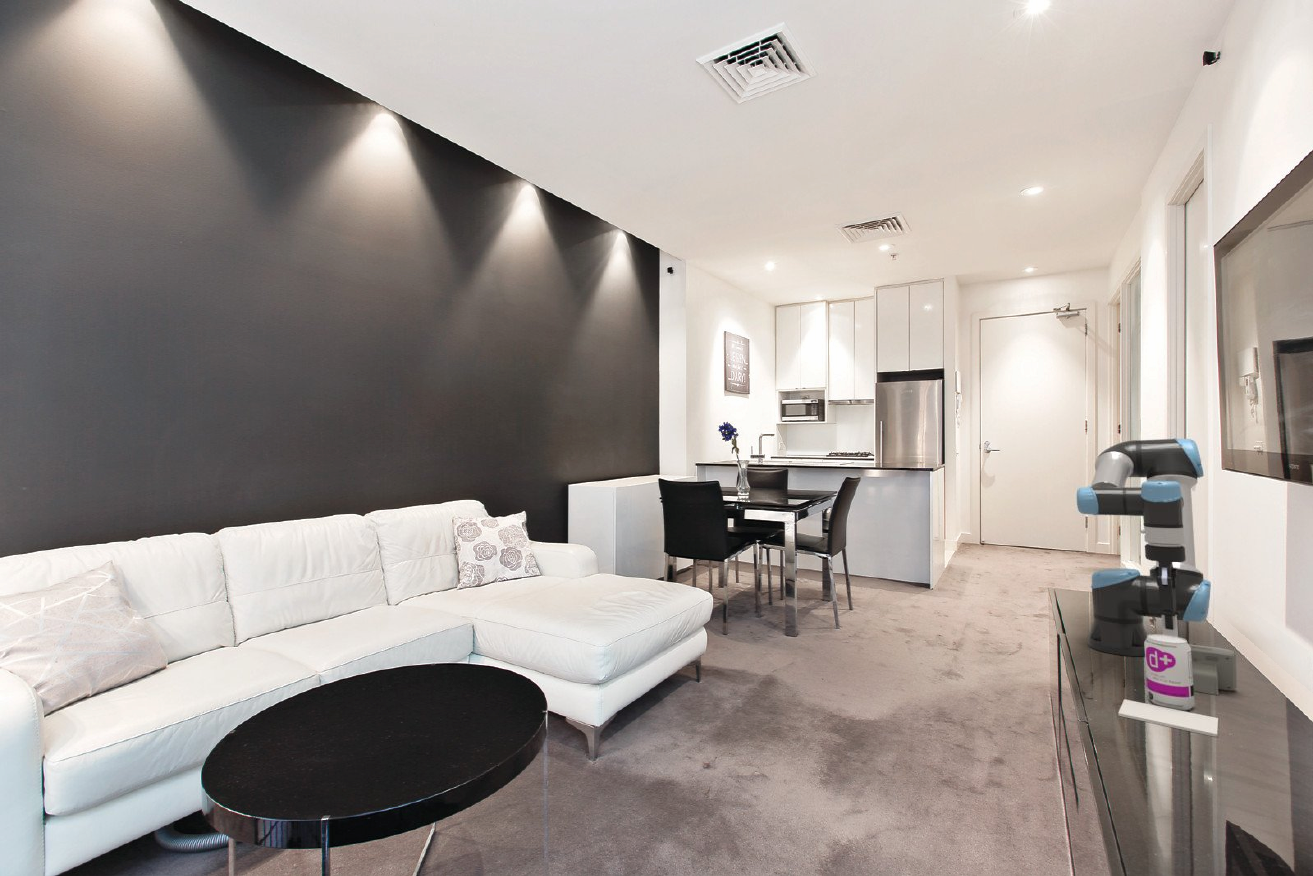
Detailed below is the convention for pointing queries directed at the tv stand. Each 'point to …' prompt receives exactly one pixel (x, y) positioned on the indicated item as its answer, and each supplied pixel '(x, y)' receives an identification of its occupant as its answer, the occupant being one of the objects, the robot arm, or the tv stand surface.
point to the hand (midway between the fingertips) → (1170, 641)
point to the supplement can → (1169, 671)
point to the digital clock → (1213, 669)
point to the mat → (1169, 717)
